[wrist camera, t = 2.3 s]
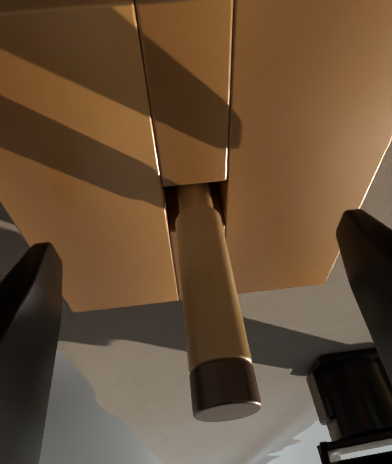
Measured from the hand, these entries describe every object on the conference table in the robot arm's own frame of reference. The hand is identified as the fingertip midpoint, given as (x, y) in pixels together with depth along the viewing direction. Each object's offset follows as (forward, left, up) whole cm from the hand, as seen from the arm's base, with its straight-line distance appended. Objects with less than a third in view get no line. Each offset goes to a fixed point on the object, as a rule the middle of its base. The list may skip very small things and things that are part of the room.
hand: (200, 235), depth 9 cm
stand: (0, 0, -4) cm, 4 cm away
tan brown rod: (0, 0, -4) cm, 4 cm away
